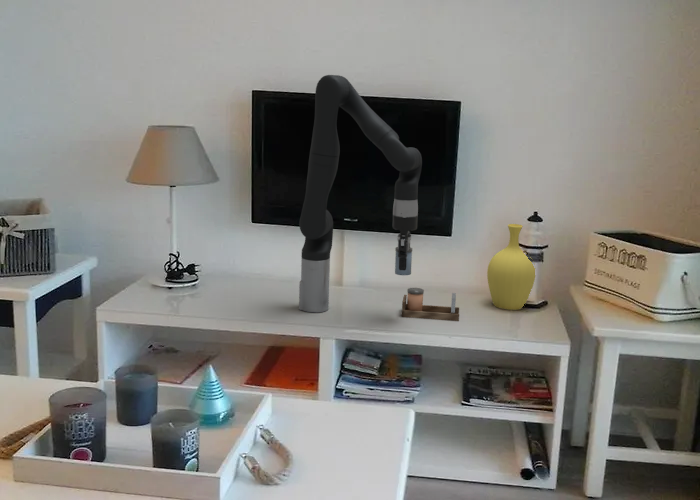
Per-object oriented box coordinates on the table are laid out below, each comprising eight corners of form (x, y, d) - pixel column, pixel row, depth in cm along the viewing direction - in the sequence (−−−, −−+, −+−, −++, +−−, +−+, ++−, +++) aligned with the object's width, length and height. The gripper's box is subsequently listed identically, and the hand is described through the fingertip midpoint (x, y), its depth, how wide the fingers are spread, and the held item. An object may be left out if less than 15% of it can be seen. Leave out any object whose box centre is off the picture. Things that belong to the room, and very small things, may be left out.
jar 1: (393, 274, 241) (394, 249, 239) (395, 270, 246) (396, 246, 244) (410, 275, 240) (411, 250, 238) (411, 271, 245) (412, 246, 243)
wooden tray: (401, 319, 249) (402, 301, 247) (403, 312, 257) (404, 294, 255) (458, 323, 246) (459, 305, 245) (458, 316, 254) (459, 298, 253)
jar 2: (405, 315, 250) (407, 291, 248) (406, 310, 255) (408, 287, 253) (422, 316, 249) (423, 292, 247) (422, 312, 254) (424, 288, 252)
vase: (485, 310, 262) (491, 228, 256) (484, 297, 277) (490, 219, 271) (534, 313, 260) (542, 231, 254) (530, 300, 275) (537, 222, 269)
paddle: (450, 318, 248) (451, 297, 246) (450, 313, 253) (452, 292, 252) (454, 318, 247) (455, 298, 246) (454, 313, 253) (455, 293, 252)
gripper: (395, 209, 246) (393, 262, 250) (390, 217, 232) (388, 272, 236) (419, 210, 245) (416, 263, 249) (416, 218, 231) (413, 274, 235)
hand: (403, 267), depth 242 cm, fingers closed on jar 1, 5 cm apart
